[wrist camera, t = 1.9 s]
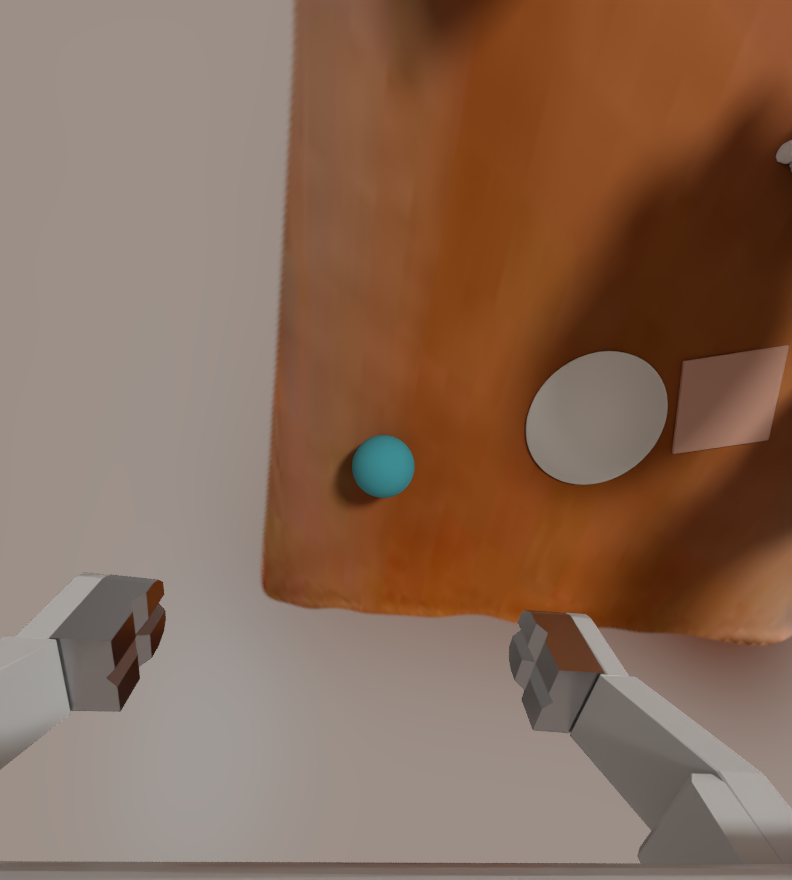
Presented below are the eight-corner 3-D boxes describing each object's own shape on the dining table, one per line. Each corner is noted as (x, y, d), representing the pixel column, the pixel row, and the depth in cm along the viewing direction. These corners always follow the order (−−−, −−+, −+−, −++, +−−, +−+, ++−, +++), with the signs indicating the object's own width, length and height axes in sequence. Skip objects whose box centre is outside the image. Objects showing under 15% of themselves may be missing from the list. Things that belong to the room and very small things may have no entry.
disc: (692, 419, 37) (694, 420, 36) (579, 507, 40) (580, 508, 40) (614, 318, 33) (616, 318, 33) (497, 423, 36) (497, 424, 36)
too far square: (786, 344, 34) (789, 345, 34) (766, 439, 38) (768, 440, 37) (682, 360, 34) (684, 361, 34) (671, 453, 38) (673, 454, 38)
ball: (424, 453, 37) (430, 479, 32) (384, 489, 39) (384, 521, 33) (382, 414, 36) (382, 436, 31) (342, 454, 37) (335, 481, 32)
